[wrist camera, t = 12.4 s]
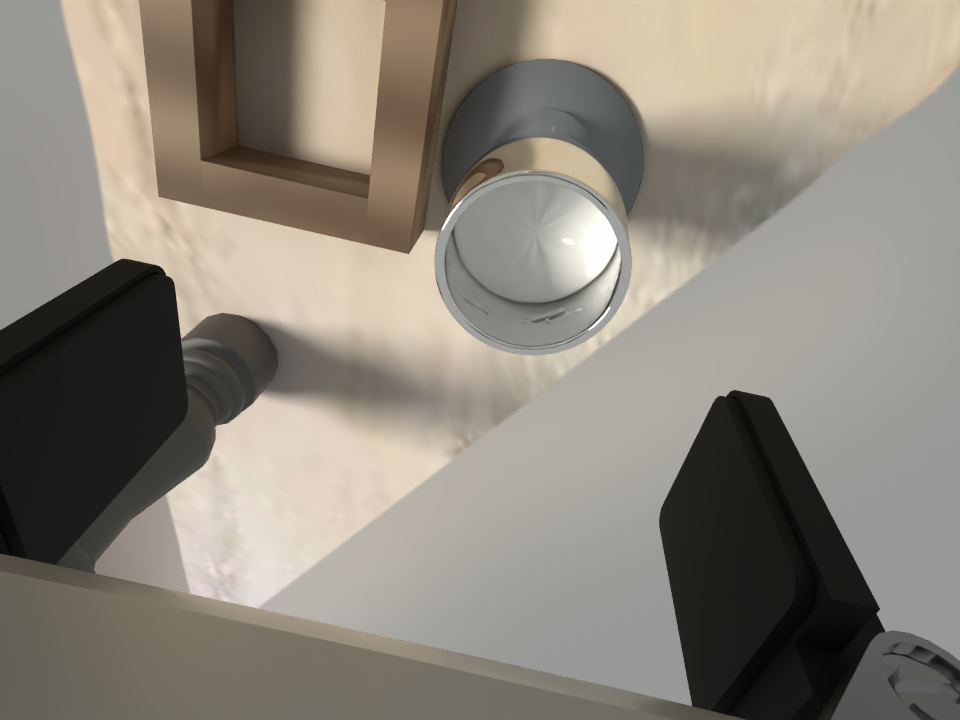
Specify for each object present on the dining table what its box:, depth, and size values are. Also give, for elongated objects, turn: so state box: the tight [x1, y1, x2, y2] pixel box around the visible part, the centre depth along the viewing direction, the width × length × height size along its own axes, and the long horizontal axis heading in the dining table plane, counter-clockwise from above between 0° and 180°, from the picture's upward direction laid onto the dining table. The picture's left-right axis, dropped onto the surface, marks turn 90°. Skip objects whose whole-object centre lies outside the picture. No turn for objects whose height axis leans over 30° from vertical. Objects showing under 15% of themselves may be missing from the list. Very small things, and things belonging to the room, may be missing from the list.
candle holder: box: [56, 313, 278, 574], centre depth 31 cm, size 6×6×25 cm
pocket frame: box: [139, 0, 457, 254], centre depth 30 cm, size 14×14×4 cm
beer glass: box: [434, 109, 632, 355], centre depth 26 cm, size 7×7×15 cm
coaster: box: [442, 59, 643, 215], centre depth 33 cm, size 11×11×1 cm
